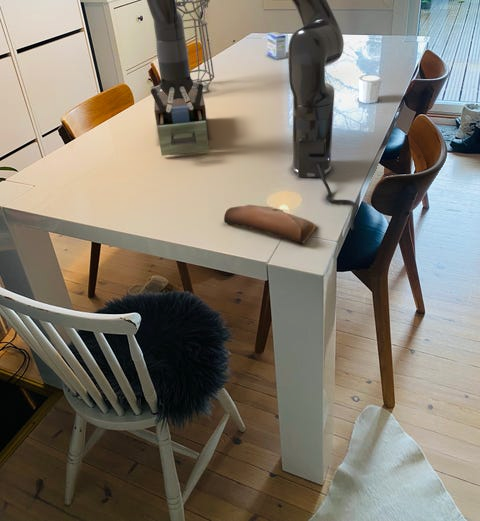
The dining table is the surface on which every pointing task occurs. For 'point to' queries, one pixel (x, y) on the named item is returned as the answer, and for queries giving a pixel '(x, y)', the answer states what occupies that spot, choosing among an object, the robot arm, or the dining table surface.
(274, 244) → the dining table surface
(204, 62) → the geometric lantern
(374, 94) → the white short cylinder
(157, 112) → the cabinet
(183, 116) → the block
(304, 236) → the sunglasses case
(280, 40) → the medicine box
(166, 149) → the drawer
